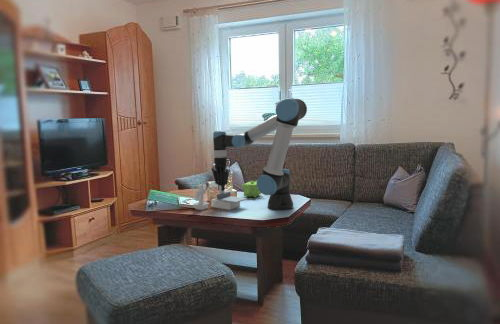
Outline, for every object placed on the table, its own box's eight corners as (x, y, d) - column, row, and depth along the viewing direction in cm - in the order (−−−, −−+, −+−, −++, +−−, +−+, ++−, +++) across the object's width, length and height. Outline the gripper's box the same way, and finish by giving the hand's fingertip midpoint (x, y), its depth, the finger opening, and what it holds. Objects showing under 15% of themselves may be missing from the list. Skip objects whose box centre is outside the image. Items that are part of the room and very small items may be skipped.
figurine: (191, 210, 213) (190, 185, 211) (201, 207, 221) (200, 182, 219) (201, 212, 210) (200, 186, 208) (211, 208, 218) (210, 183, 216)
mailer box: (240, 207, 219) (239, 198, 219) (229, 210, 211) (229, 202, 211) (222, 204, 227) (221, 196, 227) (211, 207, 219) (211, 199, 219)
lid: (247, 199, 216) (247, 194, 216) (236, 202, 207) (236, 197, 207) (228, 196, 224) (228, 191, 224) (216, 200, 216) (216, 195, 215)
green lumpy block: (257, 193, 259) (256, 178, 257) (267, 196, 247) (266, 181, 246) (238, 196, 251) (237, 180, 250) (247, 199, 240) (247, 183, 238)
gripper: (232, 156, 217) (234, 195, 220) (216, 156, 224) (217, 193, 227) (224, 158, 211) (226, 198, 213) (207, 157, 218) (209, 195, 221)
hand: (221, 195), depth 220 cm, fingers closed
